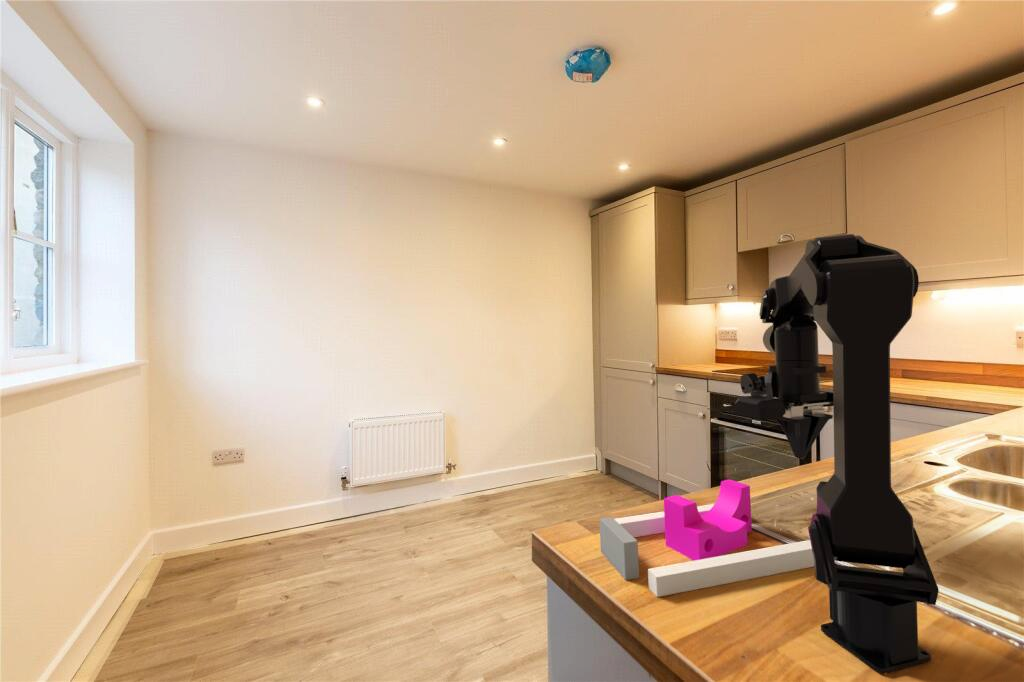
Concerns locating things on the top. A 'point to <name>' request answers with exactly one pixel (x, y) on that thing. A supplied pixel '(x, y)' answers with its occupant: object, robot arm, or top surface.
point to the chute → (696, 573)
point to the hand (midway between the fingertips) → (799, 457)
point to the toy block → (709, 523)
